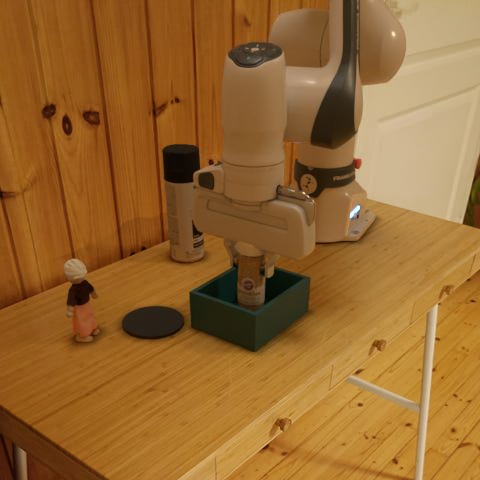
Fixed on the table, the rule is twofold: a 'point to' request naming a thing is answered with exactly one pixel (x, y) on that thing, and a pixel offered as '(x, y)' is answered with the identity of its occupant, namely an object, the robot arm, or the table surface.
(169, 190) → the spray can
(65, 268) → the grandmother figurine
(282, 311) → the basin
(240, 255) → the sprinkles bottle
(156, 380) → the table surface
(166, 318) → the pad
